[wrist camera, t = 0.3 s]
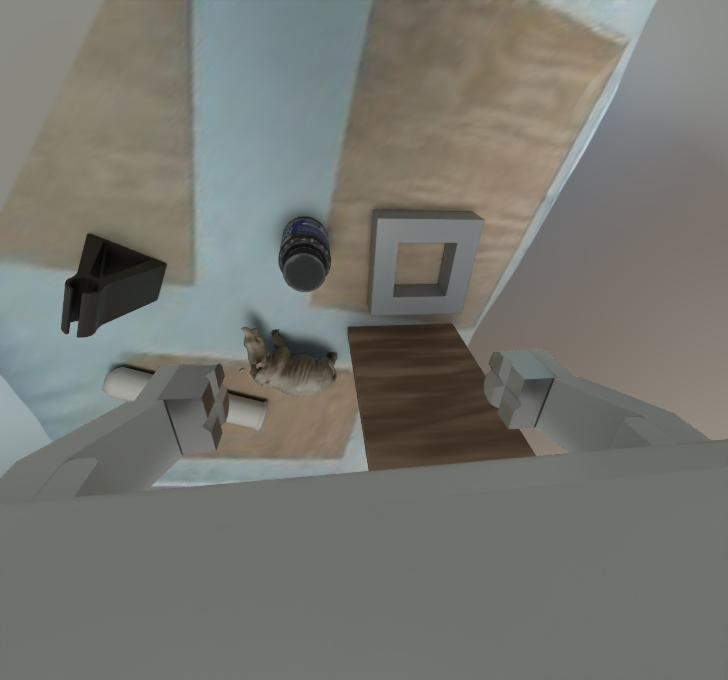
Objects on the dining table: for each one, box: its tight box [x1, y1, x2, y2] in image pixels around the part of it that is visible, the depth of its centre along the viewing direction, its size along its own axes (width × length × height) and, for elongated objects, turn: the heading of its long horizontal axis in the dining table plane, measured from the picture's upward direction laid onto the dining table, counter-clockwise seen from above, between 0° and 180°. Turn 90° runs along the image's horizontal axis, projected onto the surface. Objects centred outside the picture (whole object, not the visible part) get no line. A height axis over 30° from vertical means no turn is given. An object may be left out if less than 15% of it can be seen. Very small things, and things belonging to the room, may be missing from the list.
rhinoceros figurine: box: [239, 327, 337, 397], centre depth 52 cm, size 8×14×15 cm
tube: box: [102, 367, 268, 430], centre depth 56 cm, size 5×5×25 cm
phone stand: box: [61, 234, 166, 337], centre depth 39 cm, size 9×6×12 cm, turn 59°
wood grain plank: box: [348, 324, 536, 471], centre depth 38 cm, size 6×18×42 cm, turn 87°
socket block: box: [367, 210, 485, 316], centre depth 47 cm, size 14×14×4 cm
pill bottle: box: [279, 217, 331, 292], centre depth 40 cm, size 6×6×11 cm
